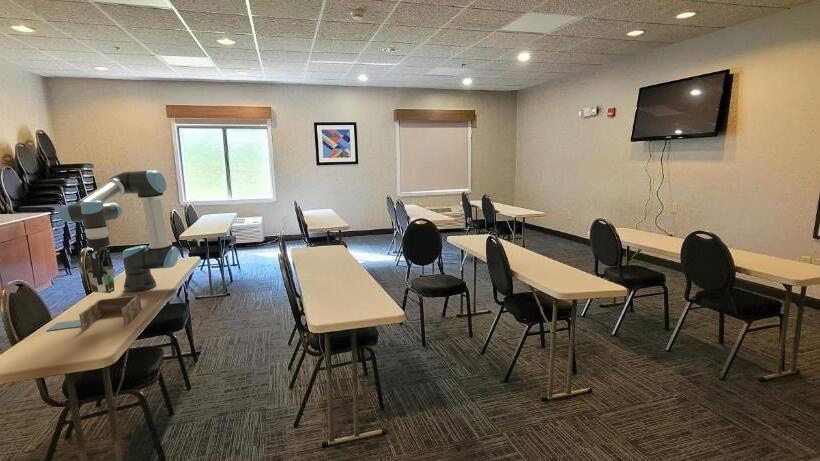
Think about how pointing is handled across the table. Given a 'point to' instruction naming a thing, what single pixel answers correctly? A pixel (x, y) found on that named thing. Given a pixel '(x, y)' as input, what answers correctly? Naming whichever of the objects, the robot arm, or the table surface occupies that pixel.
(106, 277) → the food container
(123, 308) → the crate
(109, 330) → the table surface
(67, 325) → the pad
